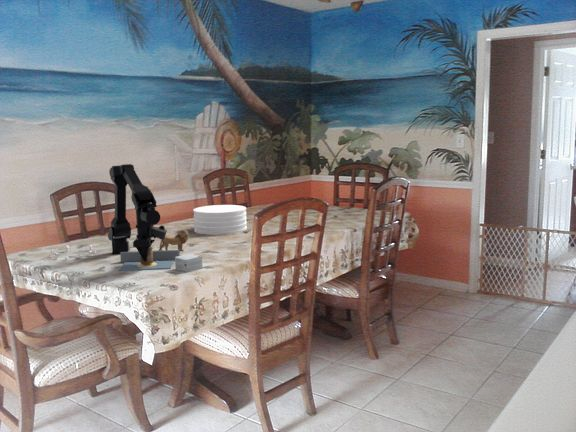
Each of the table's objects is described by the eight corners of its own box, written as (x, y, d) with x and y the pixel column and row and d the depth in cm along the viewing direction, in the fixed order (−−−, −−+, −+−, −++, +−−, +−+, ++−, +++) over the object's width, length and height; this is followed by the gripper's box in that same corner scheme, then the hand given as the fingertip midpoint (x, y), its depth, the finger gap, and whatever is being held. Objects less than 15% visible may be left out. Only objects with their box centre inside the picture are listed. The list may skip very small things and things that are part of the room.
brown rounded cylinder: (139, 264, 220) (138, 249, 219) (141, 261, 225) (140, 247, 224) (152, 264, 221) (151, 249, 220) (154, 260, 226) (153, 246, 224)
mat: (118, 271, 216) (118, 269, 216) (124, 263, 228) (124, 262, 228) (170, 268, 218) (170, 267, 218) (173, 261, 230) (173, 259, 230)
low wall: (120, 262, 230) (120, 252, 230) (121, 261, 231) (120, 252, 231) (179, 259, 232) (178, 250, 232) (179, 259, 233) (179, 249, 233)
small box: (175, 269, 218) (174, 256, 217) (191, 265, 223) (190, 253, 222) (186, 272, 212) (185, 259, 211) (203, 268, 218) (202, 255, 217)
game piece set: (50, 253, 251) (49, 245, 251) (96, 249, 258) (96, 241, 258) (48, 263, 233) (47, 254, 233) (98, 258, 240) (97, 249, 240)
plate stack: (244, 234, 284) (243, 212, 282) (189, 235, 284) (188, 213, 283) (249, 224, 311) (248, 204, 309) (199, 225, 312) (198, 205, 310)
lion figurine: (187, 247, 255) (186, 228, 253) (191, 250, 250) (190, 230, 249) (155, 252, 247) (154, 232, 246) (159, 254, 243) (158, 234, 241)
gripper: (161, 224, 211) (163, 264, 214) (167, 216, 230) (169, 253, 232) (131, 226, 211) (134, 266, 213) (140, 217, 229) (142, 254, 232)
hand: (146, 259), depth 223 cm, fingers closed on brown rounded cylinder, 5 cm apart
